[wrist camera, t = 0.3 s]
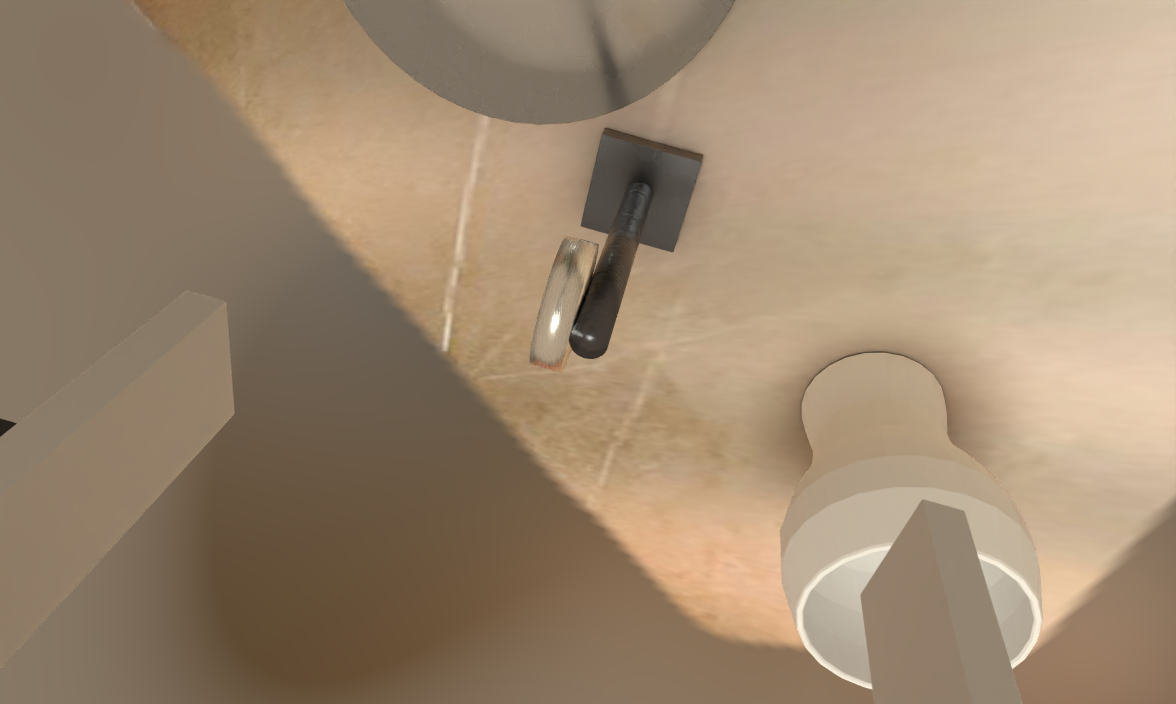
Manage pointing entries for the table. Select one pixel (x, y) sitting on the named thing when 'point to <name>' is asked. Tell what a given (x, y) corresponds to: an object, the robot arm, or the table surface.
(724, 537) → the table surface
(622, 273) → the stand
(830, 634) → the cup
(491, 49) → the disc
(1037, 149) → the table surface
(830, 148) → the table surface
